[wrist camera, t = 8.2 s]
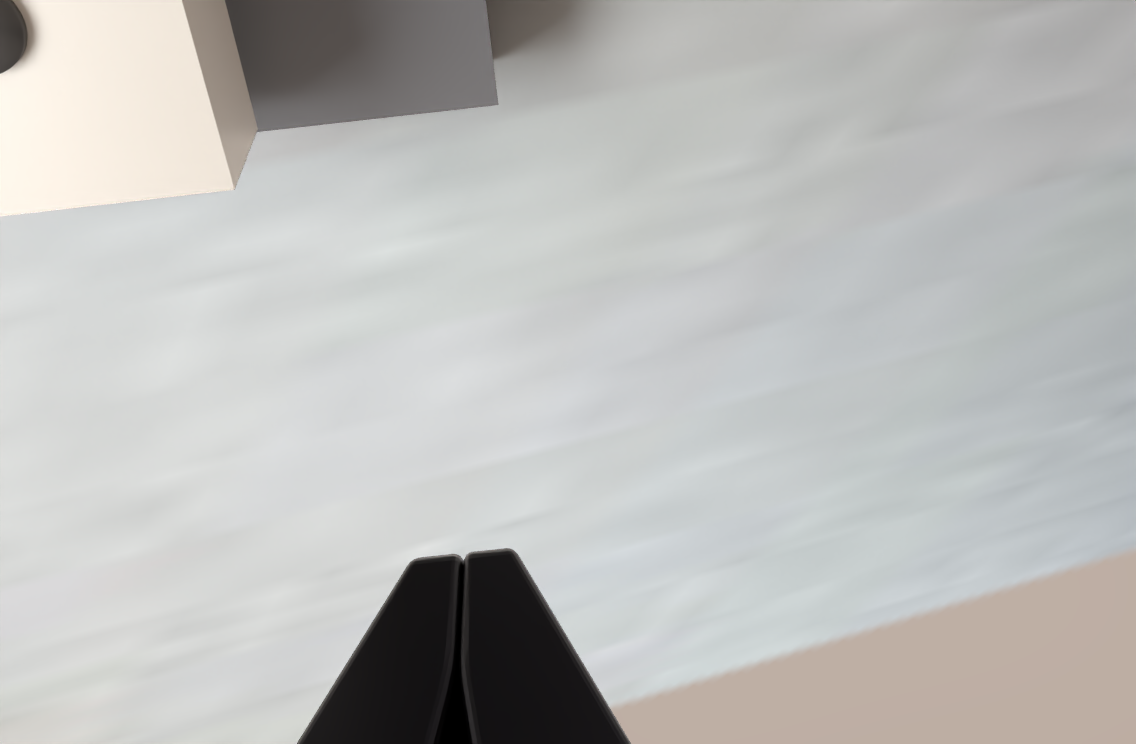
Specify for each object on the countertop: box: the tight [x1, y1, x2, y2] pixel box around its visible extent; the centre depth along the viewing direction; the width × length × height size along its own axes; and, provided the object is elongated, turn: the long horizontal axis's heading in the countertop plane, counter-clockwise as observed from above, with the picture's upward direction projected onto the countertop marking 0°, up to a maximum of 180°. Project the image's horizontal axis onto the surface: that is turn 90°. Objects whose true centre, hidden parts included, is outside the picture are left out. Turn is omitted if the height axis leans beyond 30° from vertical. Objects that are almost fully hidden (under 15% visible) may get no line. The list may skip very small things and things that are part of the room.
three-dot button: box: [0, 0, 258, 216], centre depth 12 cm, size 4×4×2 cm
